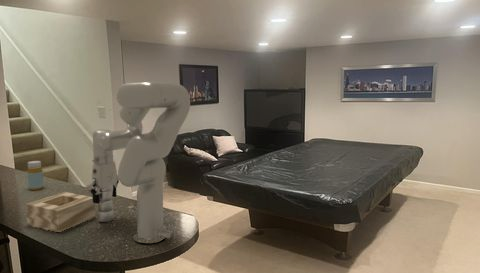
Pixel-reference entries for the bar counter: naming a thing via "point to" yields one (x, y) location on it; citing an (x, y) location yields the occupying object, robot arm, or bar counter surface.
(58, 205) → the well block
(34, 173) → the bottle
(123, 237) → the bar counter surface
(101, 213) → the plastic bottle
